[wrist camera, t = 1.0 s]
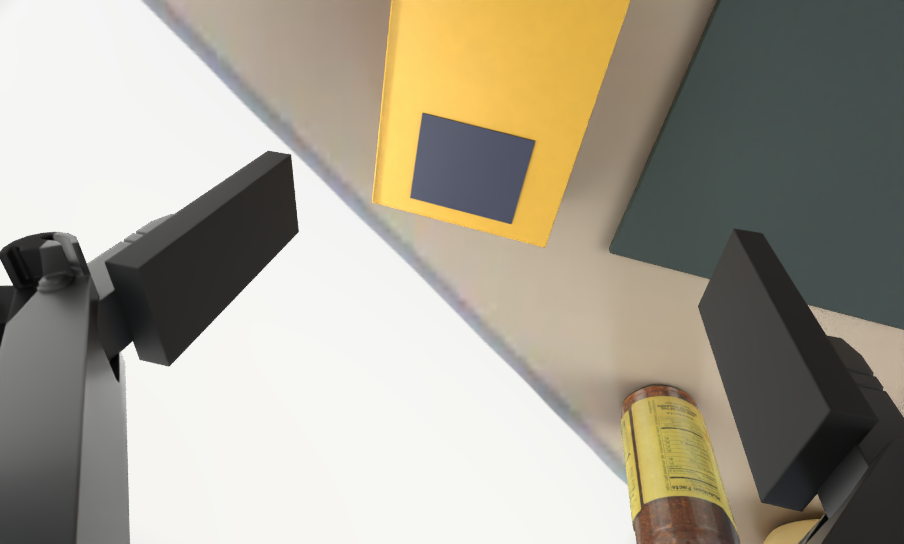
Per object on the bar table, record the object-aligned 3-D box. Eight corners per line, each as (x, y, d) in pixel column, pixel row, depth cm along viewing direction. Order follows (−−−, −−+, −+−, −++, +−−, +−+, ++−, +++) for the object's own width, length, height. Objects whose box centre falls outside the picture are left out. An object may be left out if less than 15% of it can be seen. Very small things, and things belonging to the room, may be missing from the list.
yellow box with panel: (435, -130, 25) (403, -143, 20) (645, -84, 24) (660, -86, 20) (398, 166, 34) (371, 203, 30) (549, 205, 34) (545, 249, 29)
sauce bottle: (662, 442, 44) (711, 741, 28) (603, 409, 43) (618, 696, 27) (721, 403, 40) (817, 722, 24) (657, 365, 39) (713, 669, 23)
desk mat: (744, -62, 24) (747, -62, 24) (1188, 35, 23) (1202, 37, 22) (608, 248, 35) (609, 253, 34) (907, 326, 33) (912, 332, 33)
